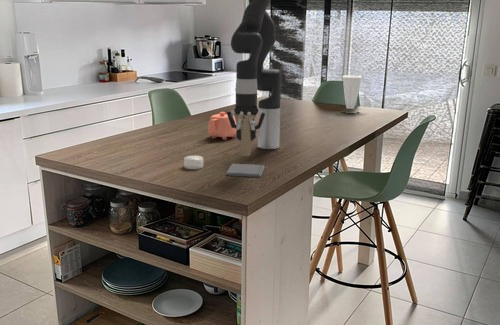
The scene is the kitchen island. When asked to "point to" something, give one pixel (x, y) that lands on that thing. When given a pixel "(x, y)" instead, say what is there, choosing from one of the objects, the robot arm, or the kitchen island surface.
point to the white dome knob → (193, 162)
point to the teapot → (221, 126)
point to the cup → (351, 90)
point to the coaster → (245, 170)
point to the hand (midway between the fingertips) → (246, 139)
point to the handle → (246, 134)
